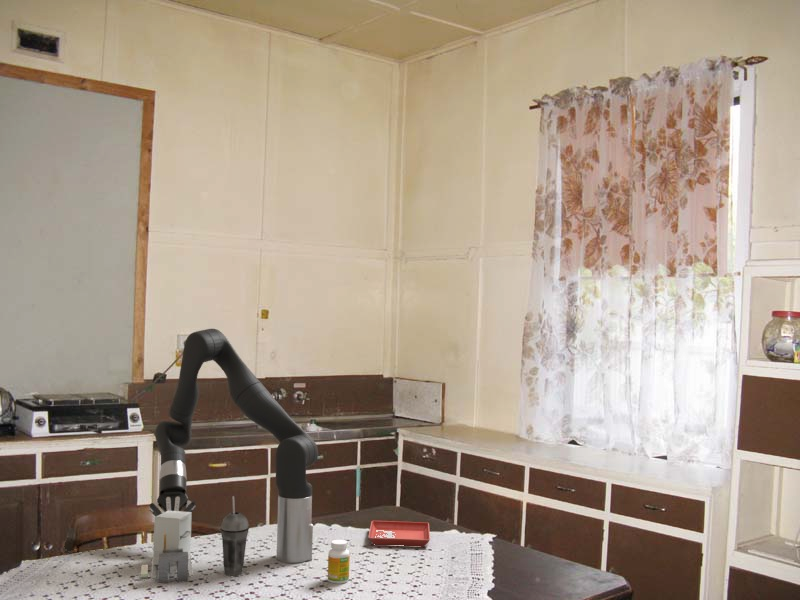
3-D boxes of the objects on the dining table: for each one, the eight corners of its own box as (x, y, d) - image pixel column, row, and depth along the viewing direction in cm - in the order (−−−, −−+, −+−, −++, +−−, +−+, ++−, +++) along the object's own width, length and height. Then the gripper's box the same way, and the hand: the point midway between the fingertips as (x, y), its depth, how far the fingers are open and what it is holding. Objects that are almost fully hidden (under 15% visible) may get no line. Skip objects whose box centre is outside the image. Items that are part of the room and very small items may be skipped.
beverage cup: (253, 571, 200) (255, 493, 200) (238, 579, 193) (240, 499, 193) (228, 567, 202) (231, 490, 202) (213, 576, 195) (215, 496, 196)
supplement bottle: (340, 585, 191) (341, 546, 191) (323, 581, 194) (324, 542, 194) (353, 579, 195) (354, 541, 196) (336, 575, 198) (337, 537, 198)
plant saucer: (430, 550, 223) (430, 538, 223) (367, 548, 223) (368, 537, 223) (428, 533, 241) (429, 522, 241) (371, 531, 241) (371, 520, 241)
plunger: (182, 565, 200) (183, 532, 201) (183, 578, 191) (184, 544, 191) (162, 566, 199) (163, 533, 199) (162, 579, 189) (163, 545, 190)
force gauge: (190, 555, 211) (191, 532, 211) (193, 581, 191) (194, 555, 191) (141, 559, 207) (142, 535, 207) (140, 585, 187) (141, 558, 188)
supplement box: (177, 567, 200) (179, 518, 200) (151, 564, 202) (153, 516, 202) (191, 558, 207) (192, 511, 208) (165, 556, 209) (167, 509, 209)
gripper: (149, 473, 218) (147, 529, 206) (197, 472, 222) (198, 526, 210) (148, 488, 223) (146, 543, 211) (195, 486, 227) (196, 540, 215)
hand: (172, 534), depth 210 cm, fingers closed
